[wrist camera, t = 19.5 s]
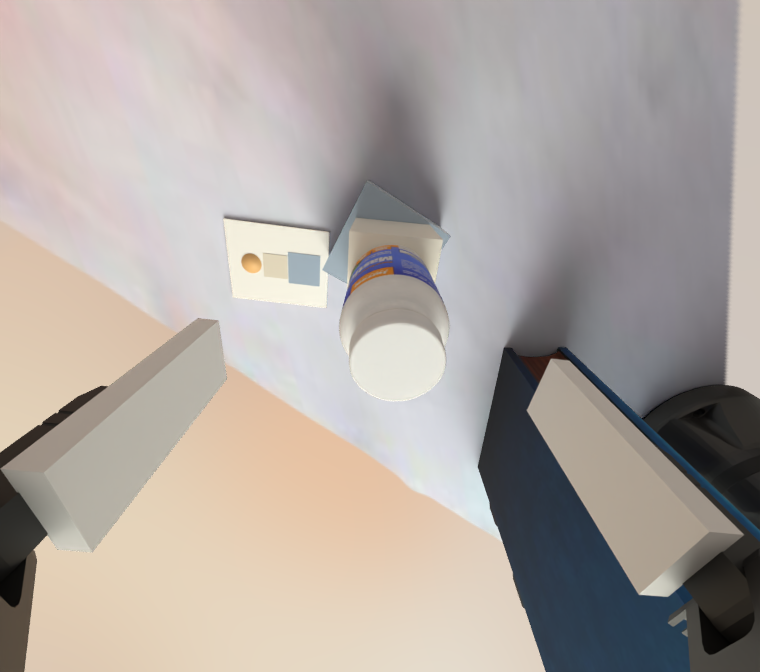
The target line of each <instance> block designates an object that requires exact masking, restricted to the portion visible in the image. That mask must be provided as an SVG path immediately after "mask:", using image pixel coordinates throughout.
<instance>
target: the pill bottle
mask: <svg viewBox="0 0 760 672" xmlns="http://www.w3.org/2000/svg"><path fill="white" fill-rule="evenodd" d="M339 333H340V339H341V342H342V345H343V347H344V349H345V351H346V352H347V354H348V355H349V367H350V372H351V374H352V377H353V379H354V380H355V382H356V383H357V385H358V386H359V387H360V388H361V389H362V390H364V391H365V392H366V393H368V394H369V395H371V396H373V397H375V398H378V399H382V400H387V401H405V400H410V399H414V398H416V397H419V396H421V395H423V394H425V393H426V392H428V391H429V390H431V389H432V388H433V387H434V386H435V385H436V384H437V383H438V381H439V380H440V378H441V377H442V375H443V373H444V370H445V365H446V353H445V349H444V347H445V345H446V342H447V339H448V335H449V318H448V313H447V310H446V307H445V305H444V302H443V300H442V298H441V296H440V294H439V292H438V289H437V287H436V285H435V283H434V281H433V279H432V276H431V274H430V272H429V270H428V268H427V266H426V264H425V263H424V261H423V260H422V259H421V257H420V256H419V255H418V254H417V253H415V252H414V251H413V250H411V249H409V248H407V247H405V246H402V245H397V244H385V245H380V246H377V247H374V248H372V249H370V250H369V251H367V252H366V253H364V254H363V255H362V256H361V257H360V258H359V260H358V261H357V262H356V264H355V266H354V268H353V270H352V273H351V276H350V280H349V284H348V288H347V292H346V296H345V300H344V304H343V308H342V312H341V317H340V323H339Z"/></svg>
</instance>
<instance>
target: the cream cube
mask: <svg viewBox="0 0 760 672" xmlns="http://www.w3.org/2000/svg"><path fill="white" fill-rule="evenodd" d="M442 243H443V239H442V238H441V237H440V236H439V235H438V234H437V233H436V231H435V230H434V229H433V228H432V227H431V226H430V225H427V224H417V223H407V222H396V221H386V220H376V219H365V218H355V220H354V222H353V224H352V226H351V228H350V230H349V248H348V274H347V288H348V284H349V280H350V276H351V273H352V270H353V268H354V266H355V264H356V262H357V261H358V260H359V258H360V257H361V256H362V255H363V254H364V253H366V252H367V251H369V250H370V249H372V248H374V247H377V246H380V245H385V244H397V245H402V246H405V247H407V248H409V249H411V250H413V251H414V252H415V253H417V254H418V255H419V256H420V257H421V259H422V260H423V261H424V263H425V264H426V266H427V268H428V270H429V272H430V274H431V276H432V279H433V281H434V283H435V281H436V275H437V270H438V265H439V259H440V254H441V249H442Z"/></svg>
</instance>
